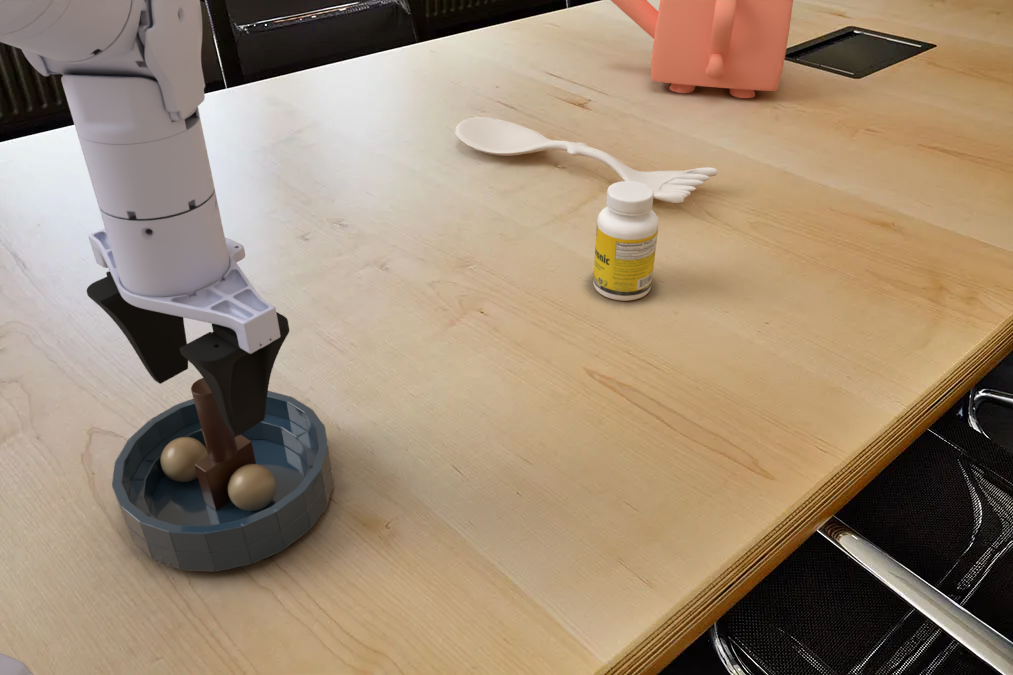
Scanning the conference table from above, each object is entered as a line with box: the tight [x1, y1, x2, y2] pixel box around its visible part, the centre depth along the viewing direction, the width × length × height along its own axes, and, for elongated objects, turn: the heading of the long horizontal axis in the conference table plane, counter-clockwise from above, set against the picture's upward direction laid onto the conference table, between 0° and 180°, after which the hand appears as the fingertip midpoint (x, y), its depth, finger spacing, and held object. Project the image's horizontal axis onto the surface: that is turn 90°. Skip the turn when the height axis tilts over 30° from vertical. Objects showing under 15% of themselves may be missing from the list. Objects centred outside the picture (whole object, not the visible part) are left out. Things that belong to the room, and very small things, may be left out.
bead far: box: [160, 437, 208, 482], centre depth 57 cm, size 3×3×3 cm
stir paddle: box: [190, 377, 256, 511], centre depth 54 cm, size 4×2×9 cm, turn 143°
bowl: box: [111, 390, 334, 572], centre depth 56 cm, size 13×13×4 cm
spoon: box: [454, 116, 718, 204], centre depth 99 cm, size 9×32×4 cm, turn 54°
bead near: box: [228, 464, 276, 511], centre depth 55 cm, size 3×3×3 cm
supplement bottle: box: [592, 180, 659, 302], centre depth 76 cm, size 5×5×10 cm
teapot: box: [610, 0, 794, 99], centre depth 121 cm, size 25×23×18 cm
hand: (208, 398), depth 52 cm, fingers open, 7 cm apart
